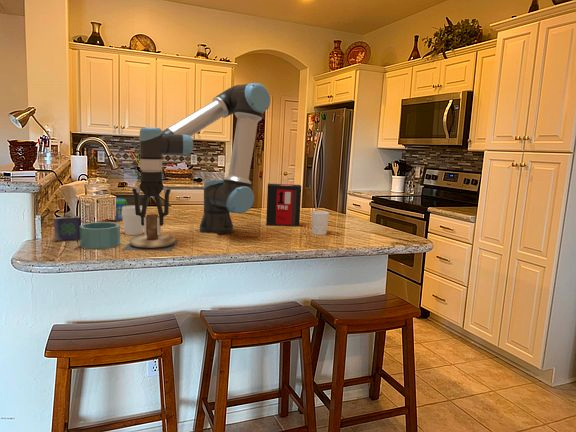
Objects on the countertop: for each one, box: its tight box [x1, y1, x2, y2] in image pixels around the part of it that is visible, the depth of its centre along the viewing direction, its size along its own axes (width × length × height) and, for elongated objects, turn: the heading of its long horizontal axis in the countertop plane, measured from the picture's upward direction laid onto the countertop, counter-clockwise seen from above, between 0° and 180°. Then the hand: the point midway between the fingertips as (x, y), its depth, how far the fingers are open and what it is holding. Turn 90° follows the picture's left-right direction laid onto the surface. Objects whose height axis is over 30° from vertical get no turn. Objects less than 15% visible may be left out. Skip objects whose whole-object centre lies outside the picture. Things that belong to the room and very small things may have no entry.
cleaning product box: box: [265, 183, 302, 228], centre depth 214 cm, size 16×9×20 cm, turn 92°
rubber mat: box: [122, 239, 179, 252], centre depth 158 cm, size 17×17×1 cm
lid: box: [129, 213, 176, 248], centre depth 158 cm, size 16×16×10 cm
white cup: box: [311, 210, 330, 236], centre depth 196 cm, size 8×8×10 cm
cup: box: [122, 204, 144, 236], centre depth 175 cm, size 9×9×12 cm
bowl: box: [79, 221, 121, 250], centre depth 155 cm, size 13×13×8 cm
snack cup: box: [115, 197, 129, 222], centre depth 205 cm, size 16×10×10 cm
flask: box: [53, 212, 82, 242], centre depth 163 cm, size 9×3×11 cm, turn 121°
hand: (152, 234), depth 158 cm, fingers closed on lid, 4 cm apart
